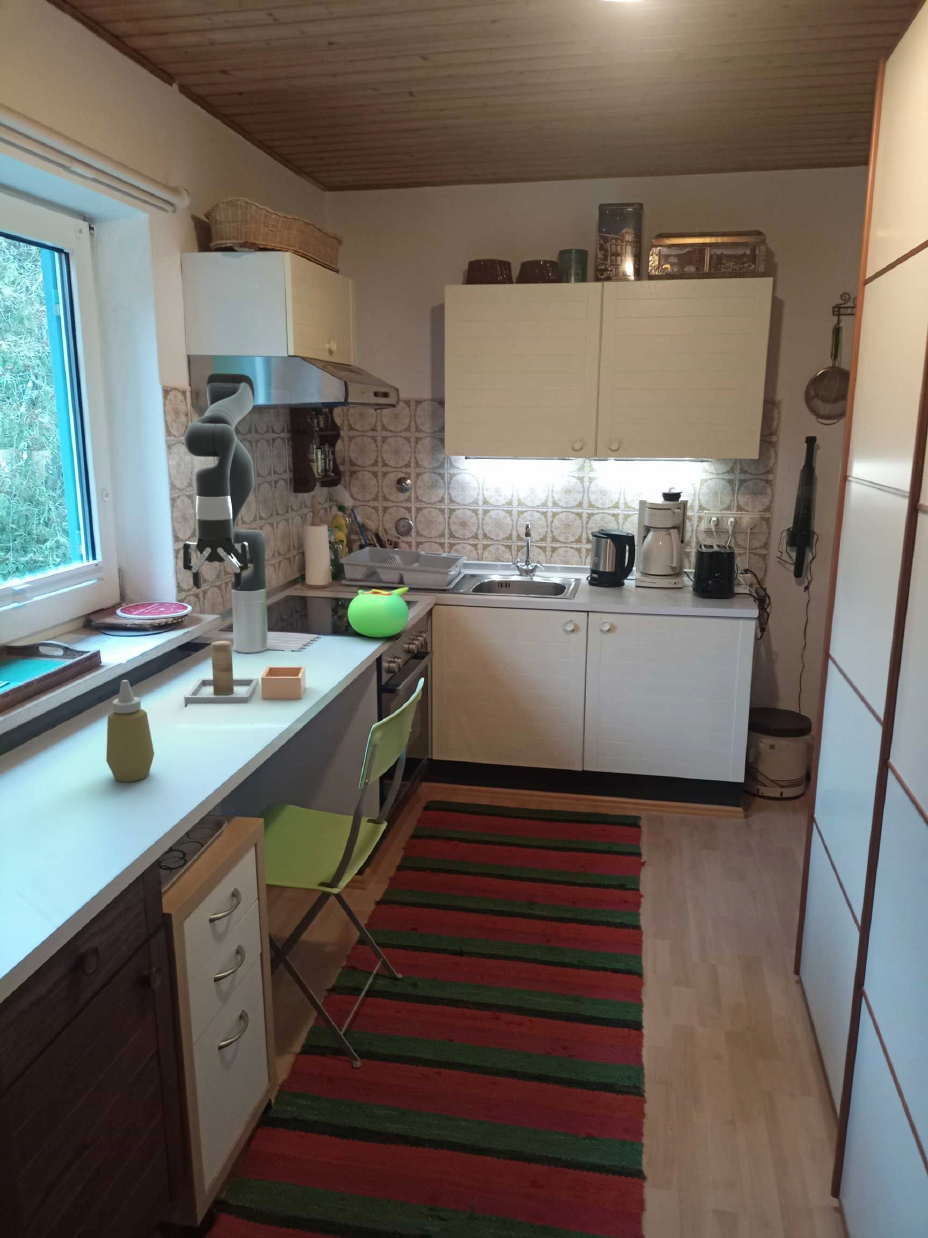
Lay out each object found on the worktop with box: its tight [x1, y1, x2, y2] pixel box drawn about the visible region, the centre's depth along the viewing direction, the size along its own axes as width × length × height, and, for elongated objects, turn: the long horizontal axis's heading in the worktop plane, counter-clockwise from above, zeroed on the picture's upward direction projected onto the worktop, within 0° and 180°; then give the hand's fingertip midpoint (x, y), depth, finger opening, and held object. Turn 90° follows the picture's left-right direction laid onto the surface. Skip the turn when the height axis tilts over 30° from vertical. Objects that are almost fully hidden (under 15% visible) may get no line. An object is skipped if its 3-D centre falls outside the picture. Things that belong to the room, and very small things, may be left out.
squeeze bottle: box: [105, 679, 155, 783], centre depth 154 cm, size 8×8×18 cm
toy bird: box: [347, 587, 410, 638], centre depth 256 cm, size 18×17×15 cm
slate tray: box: [184, 677, 260, 708], centre depth 200 cm, size 14×14×2 cm
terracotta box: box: [260, 666, 307, 700], centre depth 200 cm, size 9×9×6 cm
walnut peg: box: [210, 640, 235, 696], centre depth 199 cm, size 4×4×12 cm
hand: (218, 588), depth 194 cm, fingers open, 8 cm apart
